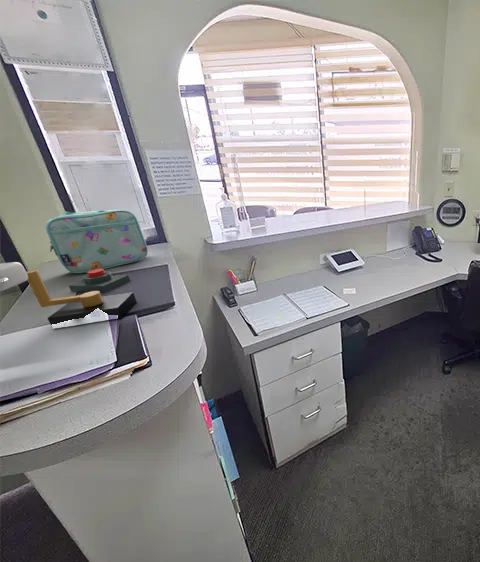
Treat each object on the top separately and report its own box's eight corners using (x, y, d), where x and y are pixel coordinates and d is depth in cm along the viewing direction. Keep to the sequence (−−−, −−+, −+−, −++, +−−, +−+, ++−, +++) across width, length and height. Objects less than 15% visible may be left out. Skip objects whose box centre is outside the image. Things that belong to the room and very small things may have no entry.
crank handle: (38, 314, 74) (18, 275, 70) (49, 307, 77) (30, 269, 74) (99, 305, 77) (83, 267, 73) (106, 299, 81) (91, 262, 77)
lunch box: (62, 279, 106) (33, 217, 98) (60, 272, 112) (33, 213, 104) (153, 259, 123) (135, 205, 115) (146, 255, 130) (129, 203, 122)
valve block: (53, 329, 73) (47, 318, 72) (76, 311, 82) (71, 300, 81) (122, 318, 77) (117, 307, 76) (137, 302, 86) (133, 292, 85)
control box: (71, 292, 95) (65, 280, 93) (98, 280, 103) (94, 269, 102) (105, 292, 93) (100, 280, 92) (130, 281, 102) (126, 269, 100)
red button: (85, 278, 95) (83, 273, 95) (98, 273, 99) (95, 268, 98) (97, 278, 95) (95, 273, 94) (109, 273, 99) (107, 268, 98)
